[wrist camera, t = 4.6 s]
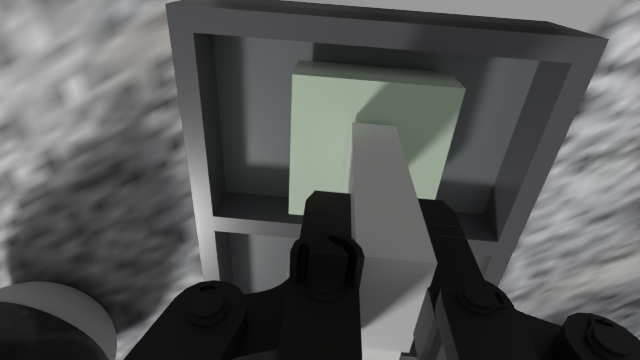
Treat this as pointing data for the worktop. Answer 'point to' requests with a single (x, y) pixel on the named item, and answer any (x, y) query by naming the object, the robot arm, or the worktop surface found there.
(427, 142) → the key sage
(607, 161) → the worktop surface
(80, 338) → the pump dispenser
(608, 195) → the worktop surface
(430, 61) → the grey compartment tray
